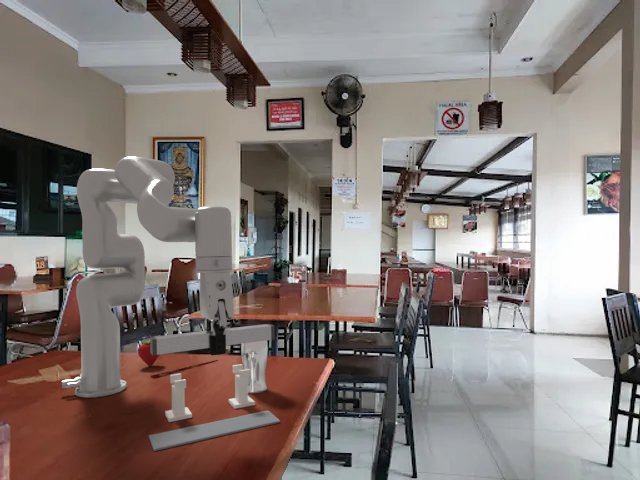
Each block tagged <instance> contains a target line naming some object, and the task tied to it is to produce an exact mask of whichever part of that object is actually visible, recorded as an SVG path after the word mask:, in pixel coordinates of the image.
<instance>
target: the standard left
mask: <svg viewBox="0 0 640 480" xmlns="http://www.w3.org/2000/svg"><path fill="white" fill-rule="evenodd" d="M169 383H170V384H171V409H169V410H164V414H165V418H166V419H167V421H168V422H169V423H171V422H177V421H182V420H186V419H191V418H193V414H192V412H191V410H190V409H189V408H188V407H187V406H186V405H185V404H186V403H185V402H186V401H185V399H186V398H185V397H186V395H185V393H186V392H185V389H187V379H185V378H184V379H182V373H180V372H179V373H173V374H169Z"/></svg>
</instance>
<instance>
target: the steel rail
mask: <svg viewBox="0 0 640 480" xmlns="http://www.w3.org/2000/svg"><path fill="white" fill-rule="evenodd" d="M210 336H212V335H211V330H209V331H205V330H202V331H194V332H184V333H175V334H169V335H168V334H166V335H156V336H151V337H150V336H149V340H150V352H151V354H152V355H158V354H160V355H164V354H172V353H180V352H188V351H196V350H205V348H210ZM275 336H276V335H275V325H273V324H270V323H265V324H257V325H246V326H240V327H239V326H238V327H230V328H226V347H227V346H234V345H241V344H243V343H250V342H258V341H266V340H267V341H273V340H275V338H276V337H275Z"/></svg>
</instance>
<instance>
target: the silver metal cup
mask: <svg viewBox="0 0 640 480" xmlns="http://www.w3.org/2000/svg"><path fill="white" fill-rule="evenodd" d="M240 346H241V350H240V351H241V360H242V365H243V370H245V369H250V377H248V394H261V393H264V392H265V391H267V388H268V387H267V383H266V367H267V363H268V362H267V360H268V340H266V341H258V342H250V343H243V344H240Z"/></svg>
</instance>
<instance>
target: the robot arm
mask: <svg viewBox="0 0 640 480" xmlns="http://www.w3.org/2000/svg"><path fill="white" fill-rule="evenodd" d="M175 182H176V176H175V172H174V169H173V167H172V166H171V165H170V164H168V163H167V162H165V161H163V160H158V159H153V158H148V157H147V158H146V157H140V156H135V155H134V156H133V155H132V156H126V157H123V158H121V159H120V160H118V161H117V163H116V164H115V167H114V169H110V168H109V169H107V168H91V169H86V170H84V171H83V172H82V173H81V174H80V176H79V178H78V180H77V184H76V197H77V202H78V206H79V208H80V212H81V219H82V227H81V228H82V232H81V233H82V235H81V236H82V243H81V244H82V259H83V263H84V264H85V266H86V267H88V268H89V269H94V270H96V269H97V270H105V269H107V270H109V269H120V271H121V272H115V273H113V272H107V273H96V274H90V275H86V276H84V277H83V278H81V279H80V280H79V281H78V283H77V284H76V288H75V295H76V300H77V305H78V310H79V316H80V318H79V319H80V356H81V357H80V359H81V360H80V363H81V364H80V367H81V369H80V370H81V373H80V374H79V376H76V377H75V378H74V379H73V378H72V379H63V380H61V388H62V389H65V388H67V390H68V389H73V388H75V390H74V395H75V396H77V397H79V398H102V397H107V396H111V395H115V394H118V393H119V392H123V391H124V390H125V389H126V388H127V386H128V384H127V381H125V380H123V379H121V331H120V330H121V326H120V321H119V319H118V317H117V316H116V315H115V313H114V312H113V311H112V310H111V309H113V308H119V307H127V306H132V305H136V304H138V303H140V302H141V301H142V299H143V297H144V294H145V286H146V285H145V277H146V276H145V275H146V274H145V273H146V270H145V269H146V267H145V266H146V265H145V264H146V263H145V260H146V258H145V257H146V256H145V249H144V245H143V242H142V240H141V239H140V238H139V237H138V236H136V235H132V234H125V233H124V234H122V233H121V234H119V232H118V217H117V216H116V215H117V214H116V213H115V211H114V210H113V208H112V207H111V205H109V204H108V203H107V202H109V203H110V202H111V203H121V204H122V203H124V204H137V205H136V211H137V212H136V213H137V217H138V218H137V219H138V221H139V224H141V226H142V227H143V228H144V229H145V230H146V231H147V232H148V233H149V234H150V235H151V236H152V237H153V238H154V239H156V240H158V241H161V242H162V243H163V242H164V243H194V244H195V245H194V246H195V248H194V249H195V273H196V274H200V275H199V312H200V315H201V316H202V317H203V318H204V319H205V320H204V331H209V330H211V335H212V336H210V348H204V350H205V352H207V353H209V354H210V355H211V356H217V355H218V356H219V355H225V354H226V353H227V346H226V329H227V328H226V327H227V325H228V321H227V319H228V320H233V319H234V316H235V310H234V294H233V293H234V292H233V284H232V275H231V273H232V272H233V245H232V244H233V243H232V242H233V241H232V238H233V237H232V236H233V234H232V233H233V229H232V227H233V226H232V212H231V210H230V209H229V208H228V207H224V206H217V205H215V206H214V205H213V206H200V207H198V208H190V207H180V206H179V207H175V206H169V205H170V203H171V202H172V200H173V198H174V196H175V195H174V193H175V190H174V189H175V188H174V185H175Z"/></svg>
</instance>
